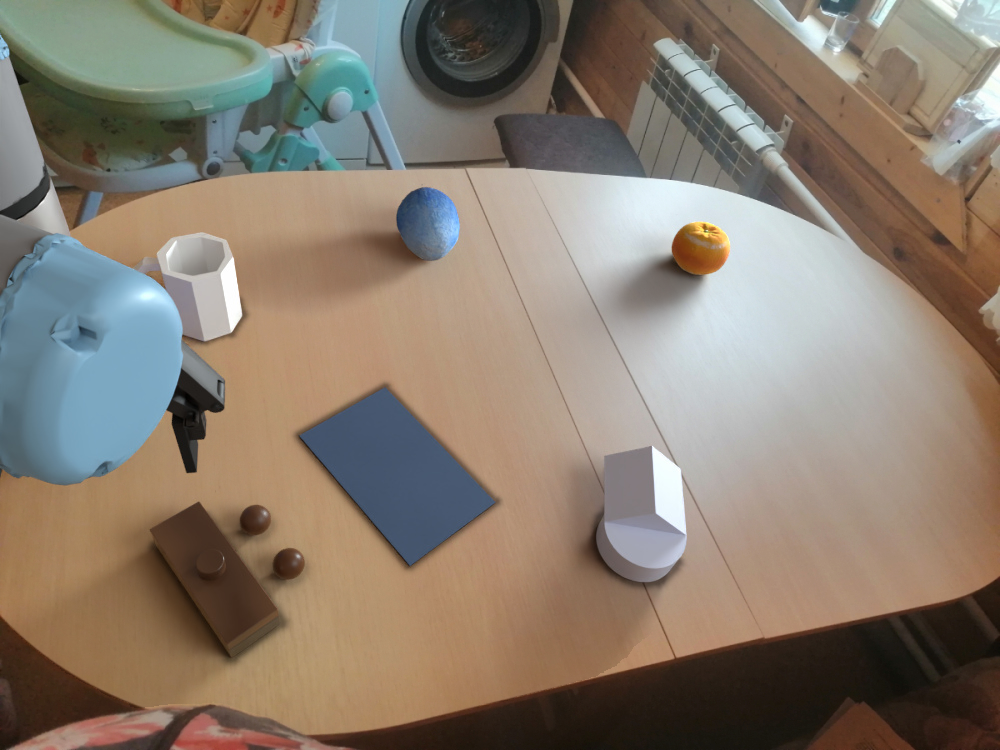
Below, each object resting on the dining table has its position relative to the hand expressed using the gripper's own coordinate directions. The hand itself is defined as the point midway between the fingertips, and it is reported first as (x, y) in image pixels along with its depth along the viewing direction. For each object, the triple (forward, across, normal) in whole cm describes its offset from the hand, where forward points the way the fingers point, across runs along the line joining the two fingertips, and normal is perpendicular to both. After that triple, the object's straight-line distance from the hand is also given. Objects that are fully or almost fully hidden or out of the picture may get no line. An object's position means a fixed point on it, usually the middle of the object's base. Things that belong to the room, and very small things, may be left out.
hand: (97, 466), depth 55 cm
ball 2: (+17, -13, +2) cm, 21 cm away
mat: (+18, -25, -9) cm, 32 cm away
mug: (+18, -3, -34) cm, 38 cm away
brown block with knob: (+18, -6, +2) cm, 19 cm away
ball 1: (+17, -10, -3) cm, 20 cm away
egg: (+18, -34, -48) cm, 61 cm away
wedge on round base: (+18, -50, +2) cm, 54 cm away
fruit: (+18, -75, -41) cm, 87 cm away
